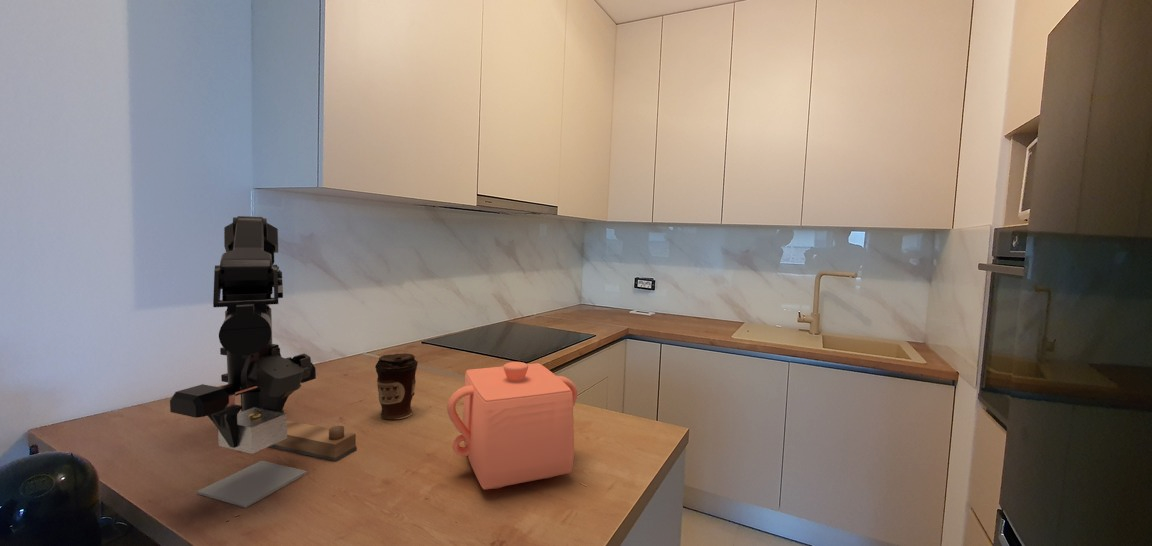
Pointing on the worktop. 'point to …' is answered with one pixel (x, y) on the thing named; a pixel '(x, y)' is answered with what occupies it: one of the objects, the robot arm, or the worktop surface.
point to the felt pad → (252, 483)
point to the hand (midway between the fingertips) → (253, 438)
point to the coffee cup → (396, 384)
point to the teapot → (515, 423)
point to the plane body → (318, 441)
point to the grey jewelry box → (258, 430)
